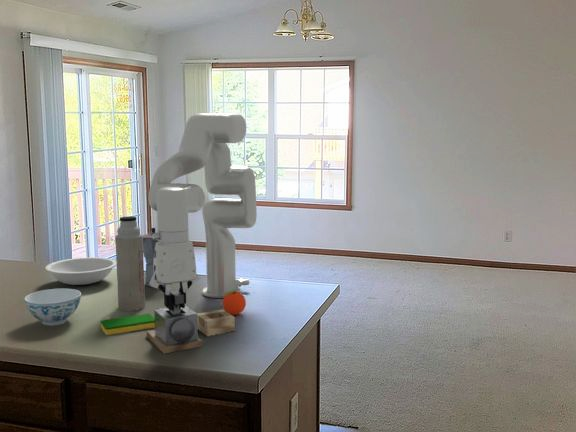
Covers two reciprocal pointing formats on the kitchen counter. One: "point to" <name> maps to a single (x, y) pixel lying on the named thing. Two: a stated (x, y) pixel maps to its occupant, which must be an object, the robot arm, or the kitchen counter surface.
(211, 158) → the robot arm
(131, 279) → the thermos bottle
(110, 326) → the dish sponge
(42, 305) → the chinaware
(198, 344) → the board
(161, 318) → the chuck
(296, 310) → the kitchen counter surface
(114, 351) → the kitchen counter surface
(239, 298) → the clementine
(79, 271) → the soup bowl
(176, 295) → the chuck key
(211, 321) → the wooden square frame
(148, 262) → the moka pot
